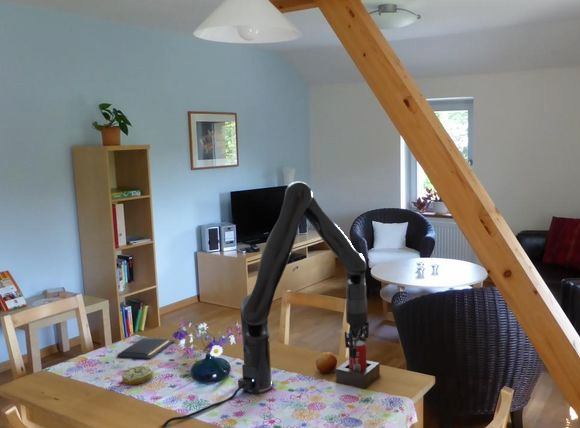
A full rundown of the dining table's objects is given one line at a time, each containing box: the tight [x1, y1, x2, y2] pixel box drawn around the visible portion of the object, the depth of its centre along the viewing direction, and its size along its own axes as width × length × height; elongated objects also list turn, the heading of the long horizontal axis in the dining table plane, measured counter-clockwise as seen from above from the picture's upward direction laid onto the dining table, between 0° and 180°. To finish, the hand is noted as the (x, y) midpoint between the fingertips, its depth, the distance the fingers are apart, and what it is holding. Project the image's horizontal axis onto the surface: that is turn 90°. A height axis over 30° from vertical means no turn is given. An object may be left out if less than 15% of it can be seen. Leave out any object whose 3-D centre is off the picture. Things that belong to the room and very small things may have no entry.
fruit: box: [315, 351, 338, 374], centre depth 212 cm, size 8×8×8 cm
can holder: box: [335, 359, 381, 390], centre depth 205 cm, size 12×12×5 cm
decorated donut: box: [121, 364, 154, 385], centre depth 208 cm, size 10×11×4 cm
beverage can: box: [348, 340, 368, 371], centre depth 204 cm, size 6×6×12 cm
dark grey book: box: [117, 337, 174, 360], centre depth 238 cm, size 20×2×15 cm
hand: (357, 354), depth 204 cm, fingers closed on beverage can, 6 cm apart
